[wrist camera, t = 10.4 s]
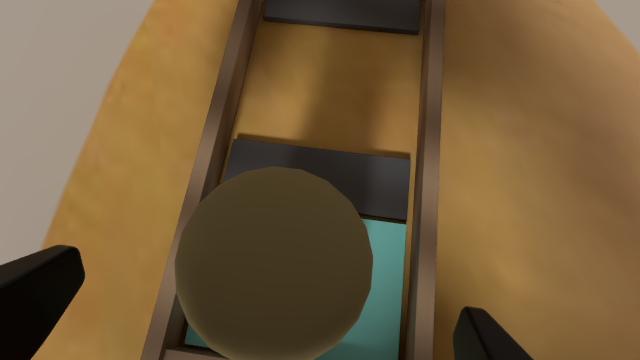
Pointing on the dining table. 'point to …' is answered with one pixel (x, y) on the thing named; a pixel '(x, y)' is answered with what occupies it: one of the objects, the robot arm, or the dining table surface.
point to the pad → (370, 301)
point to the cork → (273, 266)
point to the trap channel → (323, 158)
